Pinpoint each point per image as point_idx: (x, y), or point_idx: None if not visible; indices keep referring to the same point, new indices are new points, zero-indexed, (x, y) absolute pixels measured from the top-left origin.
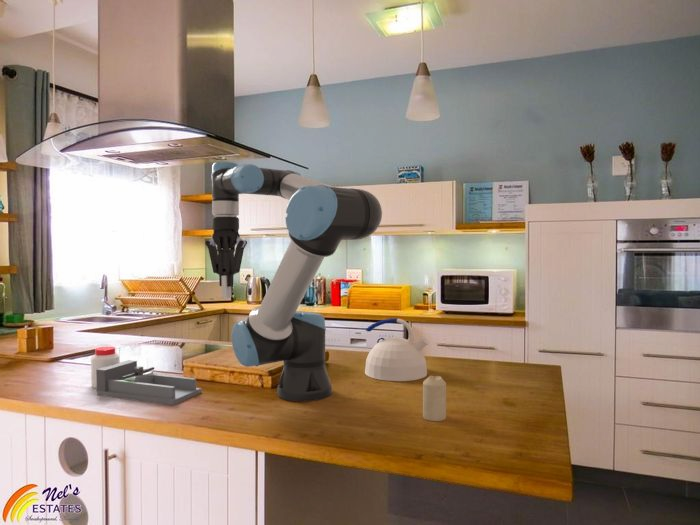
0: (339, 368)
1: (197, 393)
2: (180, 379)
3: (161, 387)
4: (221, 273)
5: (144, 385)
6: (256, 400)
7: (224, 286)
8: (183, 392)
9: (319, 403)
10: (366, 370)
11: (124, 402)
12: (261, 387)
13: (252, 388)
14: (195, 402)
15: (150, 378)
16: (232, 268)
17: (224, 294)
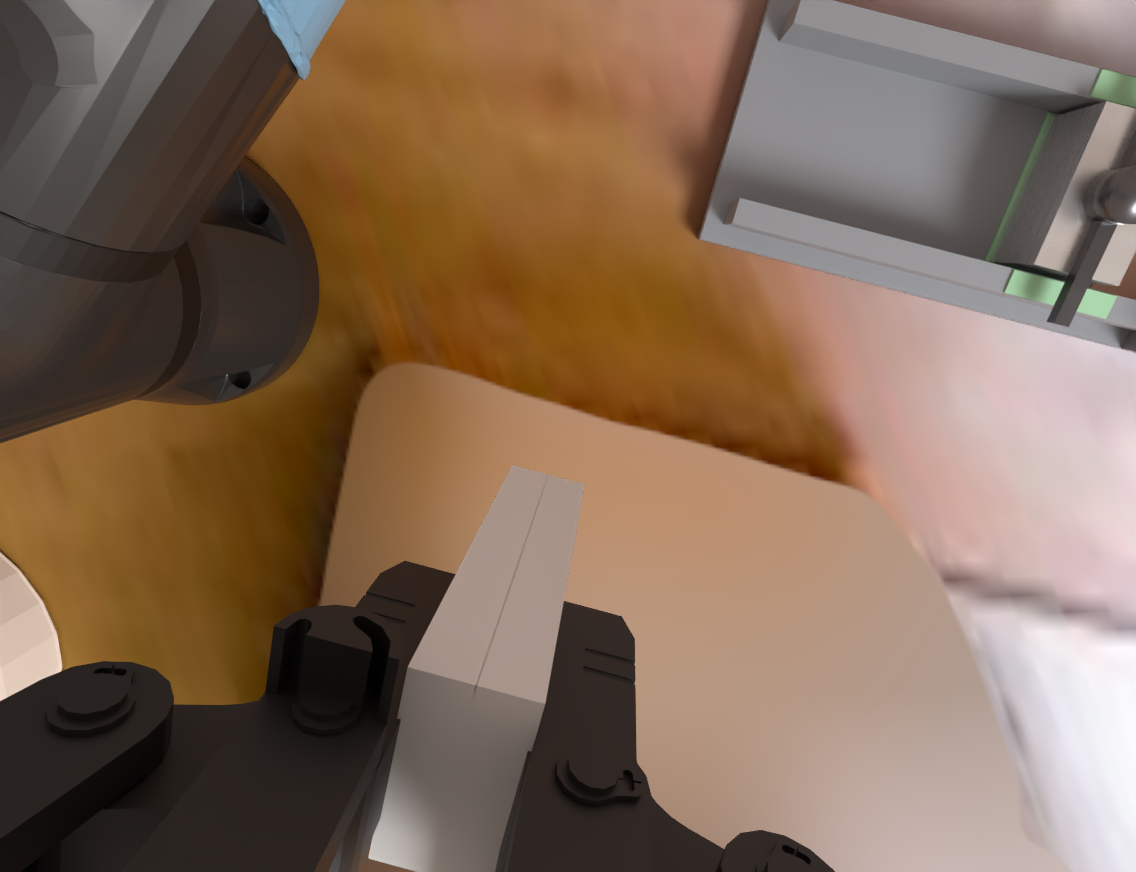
0: (188, 696)
1: (707, 205)
2: (826, 221)
3: (876, 13)
4: (544, 766)
5: (1001, 45)
6: (378, 138)
7: (507, 548)
8: (769, 150)
9: None
10: (22, 608)
11: (1060, 6)
12: (431, 360)
13: (468, 339)
14: (667, 62)
15: (1023, 238)
16: (33, 783)
17: (531, 492)
